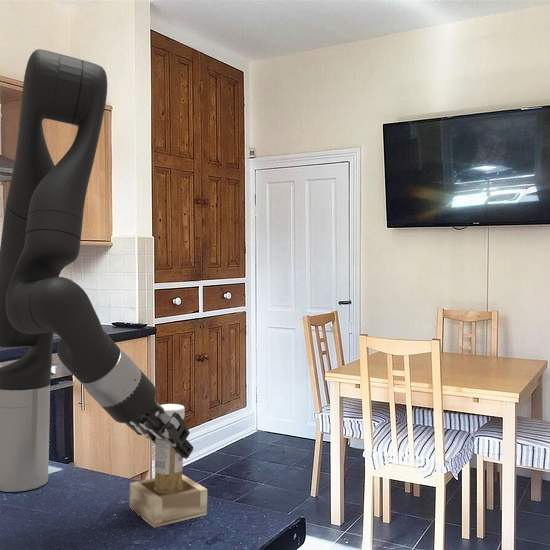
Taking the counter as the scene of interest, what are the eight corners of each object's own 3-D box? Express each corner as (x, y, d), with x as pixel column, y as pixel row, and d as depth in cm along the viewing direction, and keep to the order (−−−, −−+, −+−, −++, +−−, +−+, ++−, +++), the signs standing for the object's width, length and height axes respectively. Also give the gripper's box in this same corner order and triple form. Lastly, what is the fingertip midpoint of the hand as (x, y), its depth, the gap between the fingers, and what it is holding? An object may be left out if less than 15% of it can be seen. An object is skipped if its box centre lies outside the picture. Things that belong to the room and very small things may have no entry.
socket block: (129, 507, 99) (130, 483, 99) (179, 496, 104) (180, 473, 104) (153, 527, 91) (154, 500, 91) (206, 514, 97) (207, 489, 97)
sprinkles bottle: (187, 493, 97) (189, 407, 97) (160, 498, 94) (162, 410, 94) (175, 484, 101) (177, 401, 101) (148, 489, 98) (151, 404, 98)
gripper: (164, 369, 87) (222, 439, 97) (104, 358, 96) (162, 423, 106) (133, 413, 83) (196, 481, 92) (73, 397, 92) (136, 461, 102)
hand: (178, 450), depth 99 cm, fingers closed on sprinkles bottle, 4 cm apart
